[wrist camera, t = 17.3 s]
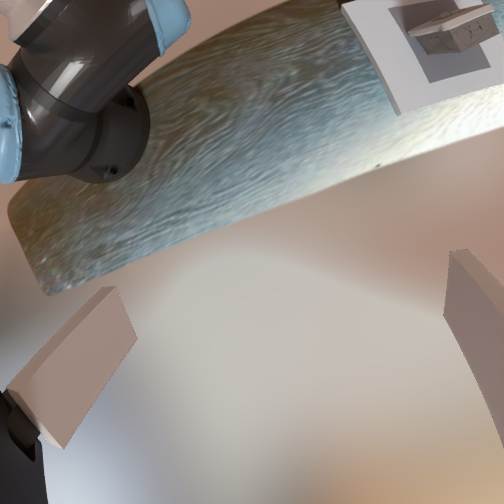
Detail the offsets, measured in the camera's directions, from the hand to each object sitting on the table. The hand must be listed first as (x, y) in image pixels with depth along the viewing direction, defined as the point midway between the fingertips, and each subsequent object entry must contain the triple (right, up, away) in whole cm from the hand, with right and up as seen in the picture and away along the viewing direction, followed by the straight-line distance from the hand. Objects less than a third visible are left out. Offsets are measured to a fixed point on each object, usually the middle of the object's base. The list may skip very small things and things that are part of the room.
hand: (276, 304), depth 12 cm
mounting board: (+24, +30, +19) cm, 42 cm away
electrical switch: (+23, +29, +17) cm, 41 cm away
